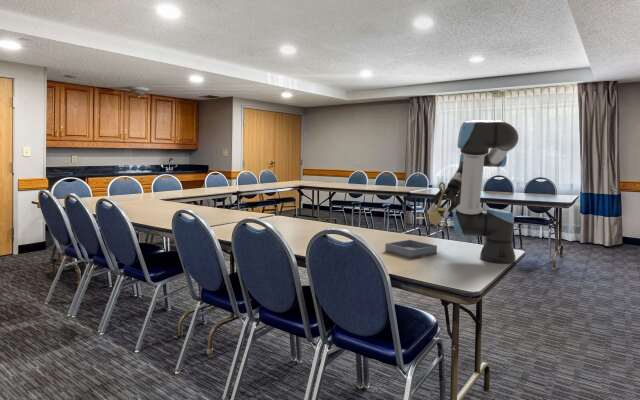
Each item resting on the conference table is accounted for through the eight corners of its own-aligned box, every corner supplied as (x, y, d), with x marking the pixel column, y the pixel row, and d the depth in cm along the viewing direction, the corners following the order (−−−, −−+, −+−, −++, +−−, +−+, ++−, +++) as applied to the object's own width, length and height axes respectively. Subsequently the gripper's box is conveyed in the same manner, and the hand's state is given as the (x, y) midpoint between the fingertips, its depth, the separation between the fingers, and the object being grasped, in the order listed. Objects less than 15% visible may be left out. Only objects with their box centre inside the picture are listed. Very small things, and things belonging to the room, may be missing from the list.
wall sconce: (442, 232, 212) (446, 182, 209) (425, 229, 218) (428, 181, 215) (454, 229, 222) (458, 181, 219) (437, 226, 228) (441, 180, 225)
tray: (436, 253, 208) (437, 245, 208) (412, 258, 198) (412, 250, 197) (409, 247, 222) (409, 239, 222) (385, 251, 212) (385, 243, 211)
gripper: (478, 189, 218) (457, 222, 210) (442, 186, 236) (422, 217, 228) (472, 179, 215) (451, 212, 207) (437, 177, 232) (416, 208, 224)
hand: (436, 215), depth 217 cm, fingers closed on wall sconce, 9 cm apart
